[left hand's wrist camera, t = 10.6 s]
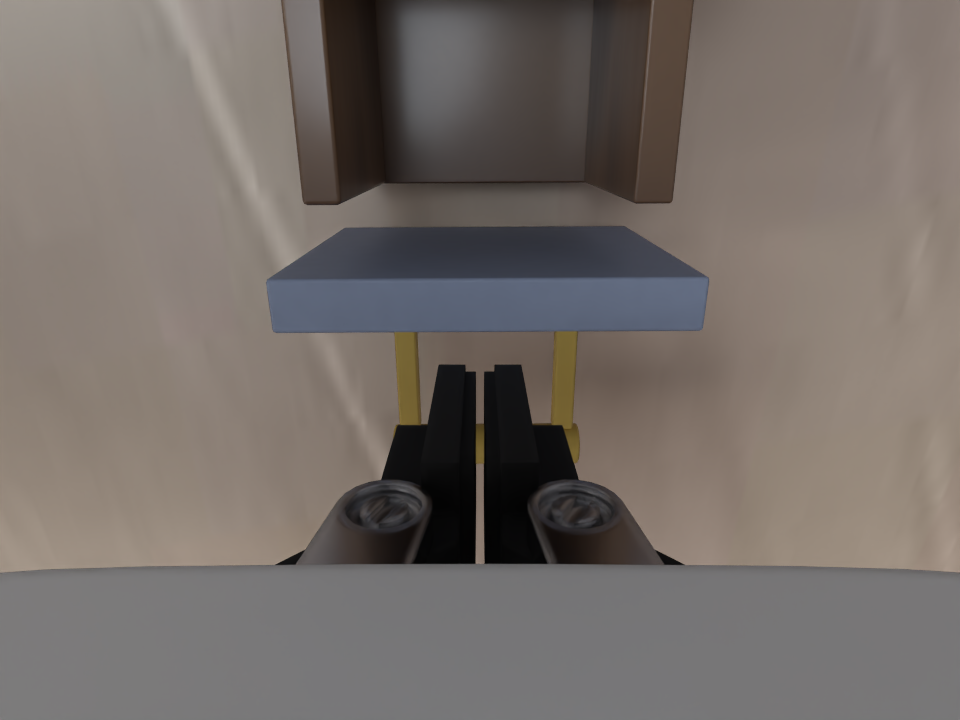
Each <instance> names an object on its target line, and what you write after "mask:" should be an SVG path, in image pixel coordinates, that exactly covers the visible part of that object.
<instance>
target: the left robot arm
mask: <svg viewBox="0 0 960 720" xmlns="http://www.w3.org/2000/svg"><path fill="white" fill-rule="evenodd" d="M475 553H476V372H466V368H465V365H439V366H438V372H437V377H436V382H435V388H434V393H433V398H432V404H431V409H430V414H429V420H428V425H398V426H397V428H396V431H395V435H394V438H393V441H392V445H391V448H390V452H389V455H388V458H387V462H386V465H385V469H384V472H383V475H382V479H381V480H379V481H373V482H368V483H365V484H363V485H360V486H357V487H355V488H353V489H351V490H350V491H348V492H346V493H345V494H344V495H343V496H342V497H341V498H340V499H339V500H338V501H337V503H336V504H335V506H334V507H333V509H332V510H331V512H330V513H329V515H328V516H327V518H326V519H325V521H324V522H323V524H322V525H321V527H320V528H319V530H318V531H317V533H316V534H315V536H314V537H313V539H312V540H311V542H310V543H309V545H308V546H307V548H306V550H304V551H302V552H300V553H298V554H296V555H294V556H292V557H290V558H288V559H286V560H284V561H282V562H280V563H278V564H276V565H243V566H150V567H115V568H83V569H50V570H33V571H19V572H5V573H0V720H960V573H957V572H941V571H925V570H909V569H880V568H842V567H805V566H720V565H684V564H682V563H680V562H678V561H676V560H674V559H672V558H670V557H668V556H666V555H664V554H662V553H660V552H658V551H656V550H654V548H653V547H652V545H651V543H650V542H649V540H648V539H647V537H646V536H645V534H644V533H643V531H642V530H641V528H640V527H639V525H638V524H637V522H636V521H635V519H634V518H633V516H632V515H631V513H630V512H629V510H628V509H627V507H626V506H625V504H624V503H623V501H622V500H621V499H620V498H619V497H618V496H617V495H616V494H615V493H614V492H612V491H610V490H609V489H607V488H605V487H603V486H600V485H597V484H595V483H592V482H587V481H581V480H579V479H578V475H577V472H576V469H575V465H574V462H573V458H572V455H571V452H570V448H569V445H568V441H567V438H566V435H565V431H564V428H563V426H562V425H532V420H531V414H530V409H529V404H528V398H527V393H526V388H525V382H524V377H523V372H522V366H521V365H495V368H494V372H484V553H485V564H475Z"/></svg>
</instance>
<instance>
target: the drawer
mask: <svg viewBox="0 0 960 720" xmlns="http://www.w3.org/2000/svg"><path fill="white" fill-rule="evenodd" d="M693 2H694V0H281V3H282V13H283V22H284V31H285V40H286V50H287V59H288V68H289V78H290V87H291V96H292V106H293V115H294V124H295V133H296V143H297V152H298V161H299V171H300V180H301V189H302V198H303V202H304V204H306V205H338V204H341V203H343V202H345V201H347V200H349V199H351V198H353V197H355V196H358V195H360V194H362V193H364V192H366V191H368V190H370V189H372V188H375V187H377V186H379V185H381V184H383V183H542V182H586V183H589V184H591V185H593V186H596V187H598V188H601V189H603V190H605V191H608V192H610V193H613V194H615V195H617V196H620V197H622V198H624V199H627V200H629V201H632V202H634V203H671V202H672V200H673V191H674V181H675V172H676V162H677V153H678V144H679V134H680V125H681V115H682V106H683V96H684V87H685V78H686V68H687V59H688V49H689V40H690V30H691V21H692V12H693ZM266 284H267V291H268V299H269V306H270V314H271V321H272V328H273V331H274V332H276V333H343V332H394V334H395V351H396V368H397V385H398V402H399V419H400V424H397V425H396V426H395V429H394V435H395V431H396V428H397V426H398V425H428V424H421V403H420V381H419V358H418V336H417V332H537V331H554V356H553V380H552V405H551V423H539V424H532V425H562V426H563V428H564V431H565V435H566V438H567V441H568V445H569V448H570V452H571V455H572V458H573V462H574V463H577V462H578V459H579V452H580V440H579V431H578V427H577V425H576V424H575V423H573V408H574V390H575V372H576V354H577V336H578V331H699V330H702V328H703V323H704V315H705V308H706V300H707V293H708V285H709V278H708V277H707V276H705V275H704V274H702V273H700V272H699V271H697V270H695V269H694V268H692V267H690V266H689V265H687V264H686V263H684V262H682V261H681V260H679V259H677V258H676V257H674V256H672V255H671V254H669V253H668V252H666V251H664V250H663V249H661V248H659V247H658V246H656V245H654V244H653V243H651V242H649V241H648V240H646V239H645V238H643V237H641V236H640V235H638V234H636V233H635V232H633V231H631V230H630V229H628V228H627V227H625V226H587V227H404V228H344V229H342V230H341V231H339V232H338V233H336V234H335V235H333V236H332V237H330V238H329V239H327V240H326V241H324V242H323V243H321V244H320V245H318V246H317V247H315V248H314V249H312V250H311V251H309V252H308V253H306V254H305V255H303V256H302V257H300V258H299V259H297V260H296V261H294V262H293V263H291V264H290V265H288V266H287V267H285V268H284V269H282V270H281V271H279V272H278V273H276V274H275V275H273V276H272V277H270V278H269V279H267V282H266ZM394 435H393V438H394ZM476 464H484V424H476Z"/></svg>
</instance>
